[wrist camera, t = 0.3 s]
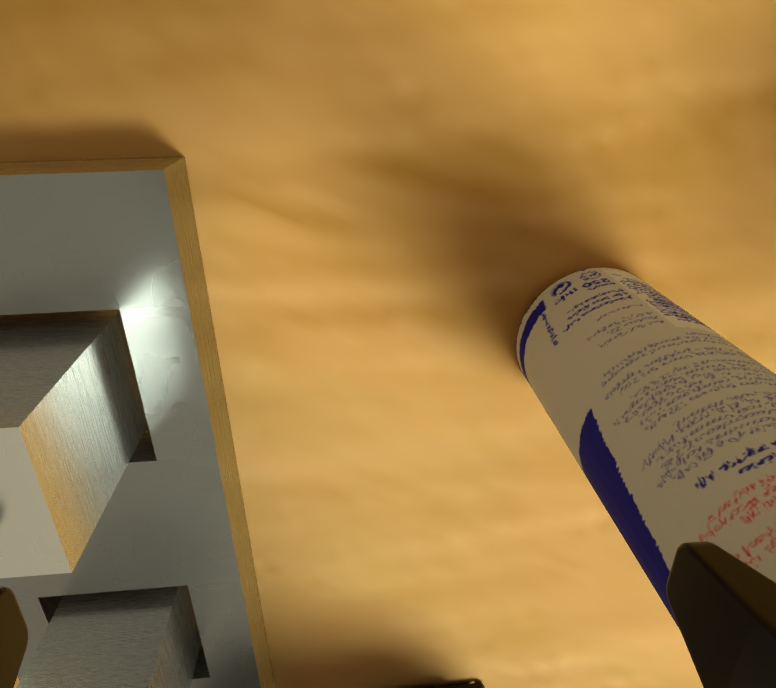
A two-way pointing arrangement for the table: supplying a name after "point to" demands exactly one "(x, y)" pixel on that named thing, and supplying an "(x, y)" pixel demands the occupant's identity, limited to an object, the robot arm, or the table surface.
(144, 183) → the grey socket board
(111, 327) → the nut
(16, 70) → the table surface
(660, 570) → the beverage can
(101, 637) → the nut
